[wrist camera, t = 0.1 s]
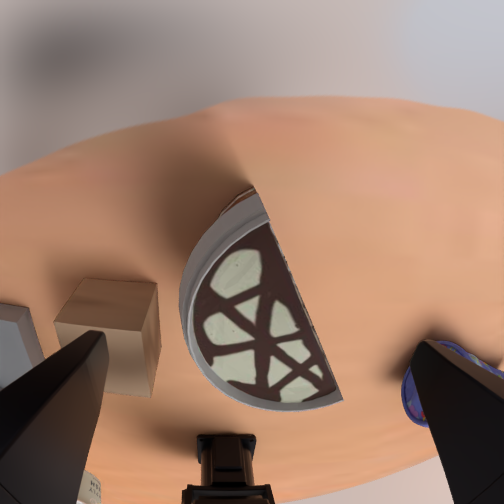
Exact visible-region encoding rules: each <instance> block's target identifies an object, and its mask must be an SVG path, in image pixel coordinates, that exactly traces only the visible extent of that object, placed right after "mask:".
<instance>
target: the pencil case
mask: <svg viewBox="0 0 504 504" xmlns="http://www.w3.org/2000/svg"><path fill="white" fill-rule="evenodd" d="M436 342H437V343H439V344H441V345H443V346H445V347H447V348H448V349H450V350H452V351H454V352H456V353H457V354H459V355H461V356H463V357H465V358H466V359H468V360H470V361H472V362H474V363H475V364H477V365H479V366H481V367H483V368H484V369H486V370H488V371H490V372H492V373H493V374H495V375H497V376H499V377H501V378H502V379H504V372H503V371H501V370H498V369H495V368H493V367H491V366H490V365H488V364H486V363H485V362H483V361H481V360H479V359H478V358H477V357H476V356H474V355H473V354H471V353H468V352H466V351H465V350H464V349H463V348H461V347H460V346H458V345H457V344H455V343H452V342H449V341H436ZM401 397H402V403H403V406H404V409H405V412H406V414H407V415H408V417H409V418H410V419H411V420H412V421H413V422H414V423H416V424H418V425H420V426H423V427H427V428H429V426H428V423H427V421H426V418H425V415H424V413H423V410H422V407H421V404H420V401H419V397H418V394H417V390H416V387H415V383H414V380H413V376H412V373H411V370H410V366H409V367H408V369H407V371H406V373H405V375H404V378H403V382H402V387H401Z"/></svg>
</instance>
